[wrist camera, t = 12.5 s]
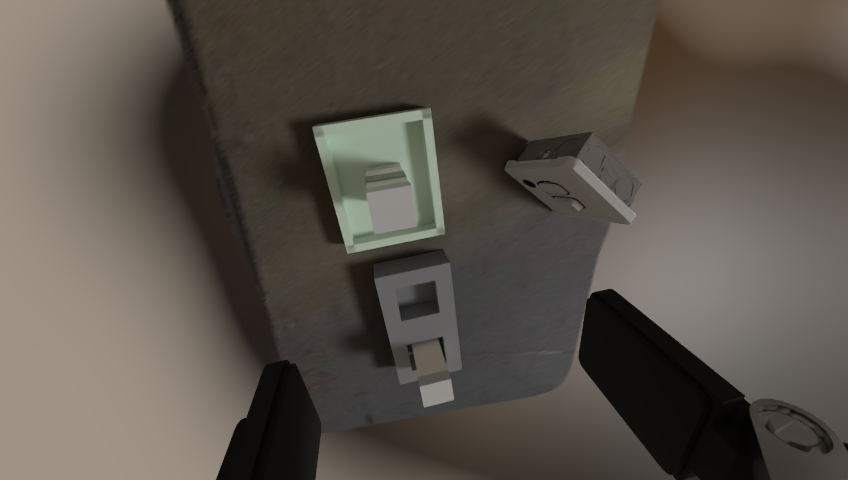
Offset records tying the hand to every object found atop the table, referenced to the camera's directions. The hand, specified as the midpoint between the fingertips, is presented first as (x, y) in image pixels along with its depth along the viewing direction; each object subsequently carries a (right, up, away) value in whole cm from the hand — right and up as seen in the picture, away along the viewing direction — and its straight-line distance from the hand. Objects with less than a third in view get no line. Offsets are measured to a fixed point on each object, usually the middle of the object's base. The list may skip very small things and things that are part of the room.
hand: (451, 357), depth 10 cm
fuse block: (-2, -5, +29) cm, 29 cm away
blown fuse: (-5, +9, +20) cm, 23 cm away
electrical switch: (+12, +11, +24) cm, 29 cm away
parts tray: (-5, +10, +21) cm, 23 cm away
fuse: (-1, -9, +30) cm, 31 cm away
